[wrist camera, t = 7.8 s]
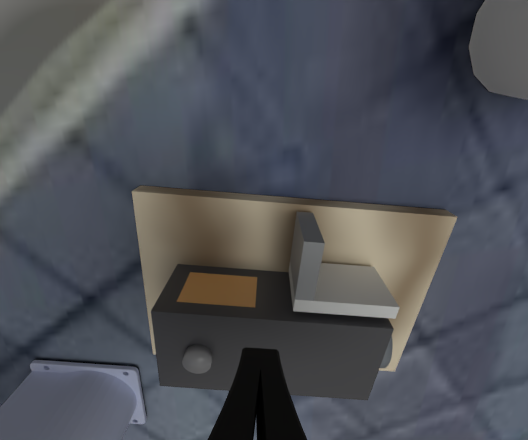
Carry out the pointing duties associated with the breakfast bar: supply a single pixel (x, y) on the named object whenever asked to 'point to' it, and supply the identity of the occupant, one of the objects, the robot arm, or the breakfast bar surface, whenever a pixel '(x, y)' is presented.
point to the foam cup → (501, 47)
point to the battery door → (333, 279)
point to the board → (290, 241)
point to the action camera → (261, 334)
